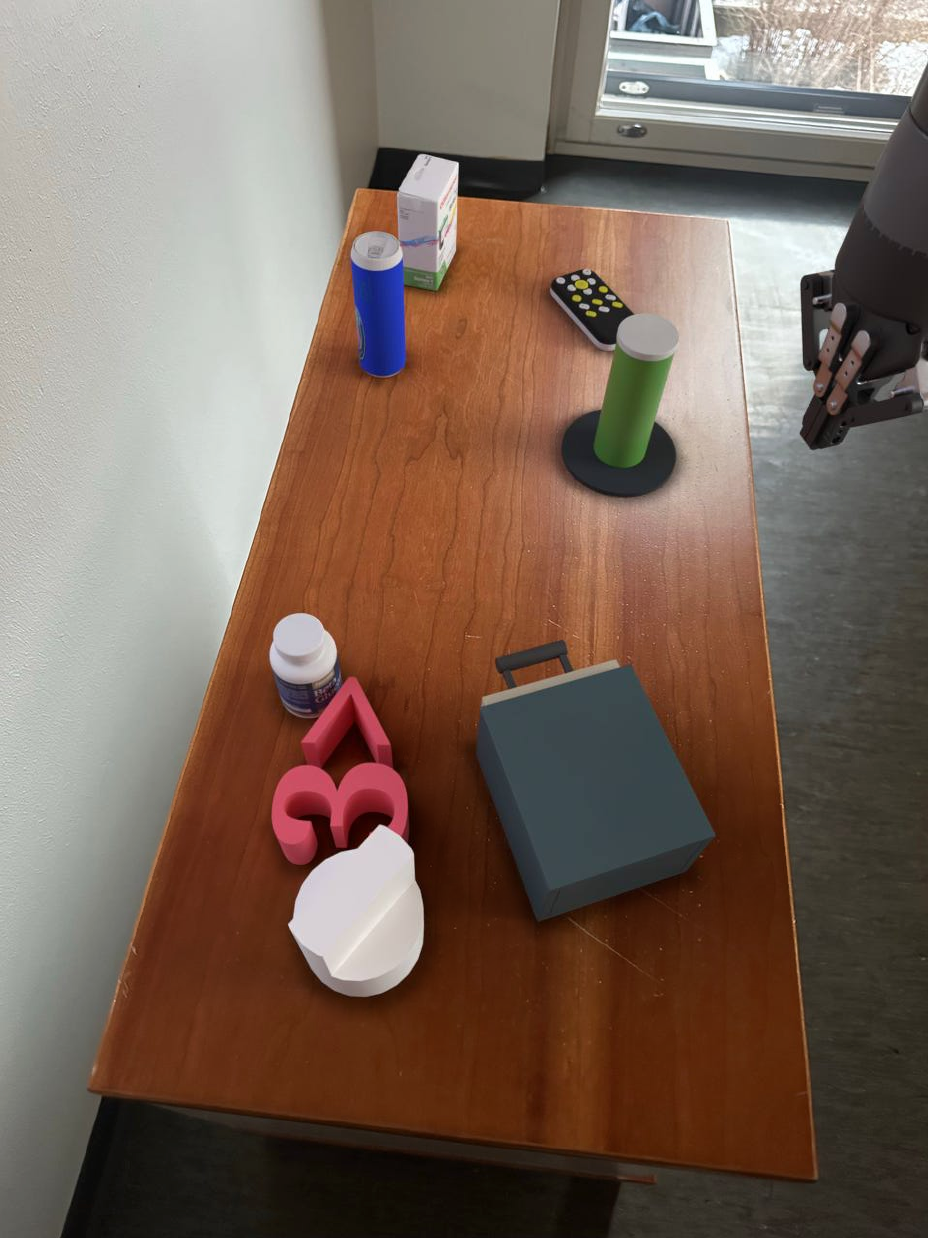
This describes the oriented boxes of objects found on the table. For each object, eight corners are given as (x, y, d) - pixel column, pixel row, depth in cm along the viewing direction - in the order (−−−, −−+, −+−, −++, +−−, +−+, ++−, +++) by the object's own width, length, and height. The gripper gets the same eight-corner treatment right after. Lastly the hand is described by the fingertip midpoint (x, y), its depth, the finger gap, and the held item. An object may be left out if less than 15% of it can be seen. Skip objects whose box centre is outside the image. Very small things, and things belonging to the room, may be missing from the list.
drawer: (462, 691, 77) (464, 652, 71) (583, 657, 79) (595, 616, 74) (535, 887, 68) (544, 860, 63) (669, 843, 71) (690, 812, 65)
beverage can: (363, 346, 101) (354, 226, 89) (408, 350, 101) (405, 231, 89) (356, 378, 99) (345, 259, 86) (402, 382, 99) (398, 264, 86)
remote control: (602, 356, 102) (605, 342, 100) (544, 291, 108) (546, 277, 106) (646, 340, 104) (650, 326, 102) (587, 276, 109) (590, 262, 108)
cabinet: (475, 753, 75) (480, 706, 68) (612, 712, 78) (631, 663, 70) (537, 922, 68) (550, 890, 61) (686, 871, 70) (715, 835, 63)
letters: (300, 702, 77) (292, 674, 73) (417, 707, 77) (416, 679, 73) (276, 864, 70) (266, 843, 65) (406, 869, 70) (404, 849, 65)
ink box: (437, 292, 107) (438, 201, 97) (398, 284, 108) (395, 192, 98) (457, 250, 111) (460, 158, 101) (419, 242, 112) (418, 150, 102)
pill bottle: (327, 729, 76) (314, 673, 68) (270, 708, 77) (250, 651, 69) (353, 676, 79) (344, 617, 70) (298, 657, 80) (282, 596, 71)
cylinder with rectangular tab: (361, 850, 70) (349, 793, 60) (448, 925, 68) (451, 879, 57) (278, 940, 67) (251, 896, 56) (367, 1025, 64) (355, 994, 54)
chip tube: (650, 436, 95) (684, 320, 82) (640, 474, 92) (674, 360, 79) (598, 424, 95) (624, 307, 83) (587, 461, 92) (612, 346, 80)
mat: (646, 402, 98) (647, 398, 98) (694, 482, 92) (696, 478, 92) (544, 425, 96) (544, 421, 95) (587, 508, 90) (588, 505, 89)
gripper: (810, 149, 49) (723, 386, 64) (951, 300, 43) (818, 526, 57) (925, 129, 51) (815, 366, 65) (1079, 272, 44) (918, 499, 59)
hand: (817, 440), depth 61 cm, fingers closed
